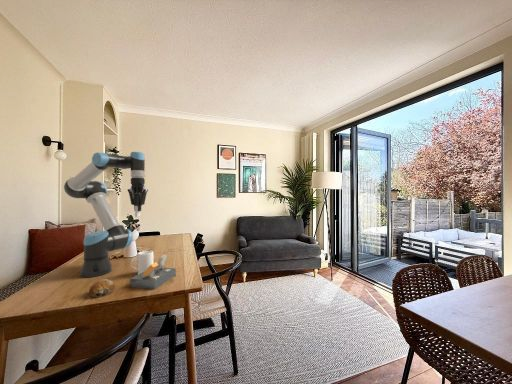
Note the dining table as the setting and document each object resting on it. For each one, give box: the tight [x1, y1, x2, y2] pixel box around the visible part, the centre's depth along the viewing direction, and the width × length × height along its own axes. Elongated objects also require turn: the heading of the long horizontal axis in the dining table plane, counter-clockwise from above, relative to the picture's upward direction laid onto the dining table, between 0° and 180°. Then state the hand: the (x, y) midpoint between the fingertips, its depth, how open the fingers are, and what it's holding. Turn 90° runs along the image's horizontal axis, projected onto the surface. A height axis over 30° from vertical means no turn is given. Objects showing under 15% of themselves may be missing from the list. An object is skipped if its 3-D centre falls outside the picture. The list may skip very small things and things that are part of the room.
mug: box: [130, 250, 154, 275], centre depth 130 cm, size 12×8×12 cm
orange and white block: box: [141, 261, 158, 278], centre depth 114 cm, size 2×5×8 cm
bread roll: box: [88, 278, 116, 298], centre depth 105 cm, size 10×10×8 cm
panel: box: [129, 253, 177, 290], centre depth 119 cm, size 14×18×12 cm
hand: (137, 216), depth 136 cm, fingers closed
